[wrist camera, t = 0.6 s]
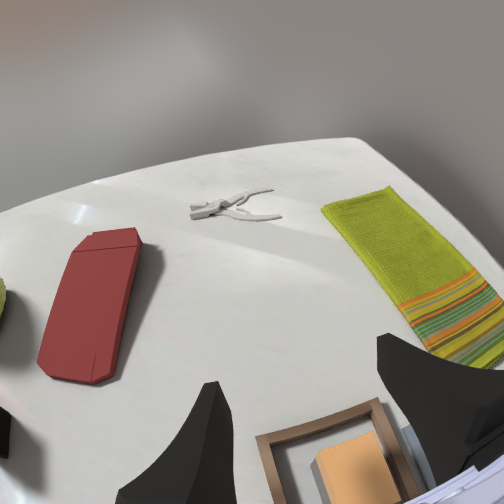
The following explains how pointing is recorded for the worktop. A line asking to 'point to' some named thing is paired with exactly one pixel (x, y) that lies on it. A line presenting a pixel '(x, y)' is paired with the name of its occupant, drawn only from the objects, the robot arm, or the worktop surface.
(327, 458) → the orange grey tall block
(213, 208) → the pliers
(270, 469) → the frame
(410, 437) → the mat
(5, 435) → the battery
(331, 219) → the dish towel
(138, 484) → the robot arm
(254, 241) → the worktop surface
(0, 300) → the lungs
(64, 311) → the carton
